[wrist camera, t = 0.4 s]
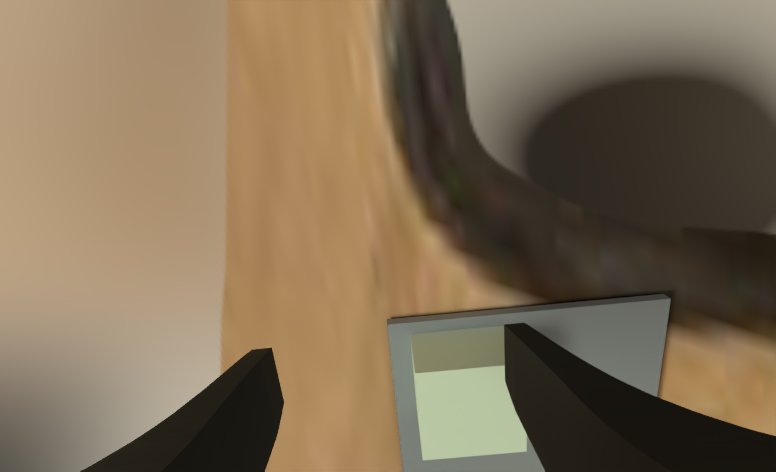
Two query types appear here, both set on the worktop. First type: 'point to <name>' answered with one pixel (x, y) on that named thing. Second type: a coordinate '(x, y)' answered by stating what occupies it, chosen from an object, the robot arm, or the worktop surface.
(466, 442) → the base block
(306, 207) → the worktop surface
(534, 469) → the build plate
